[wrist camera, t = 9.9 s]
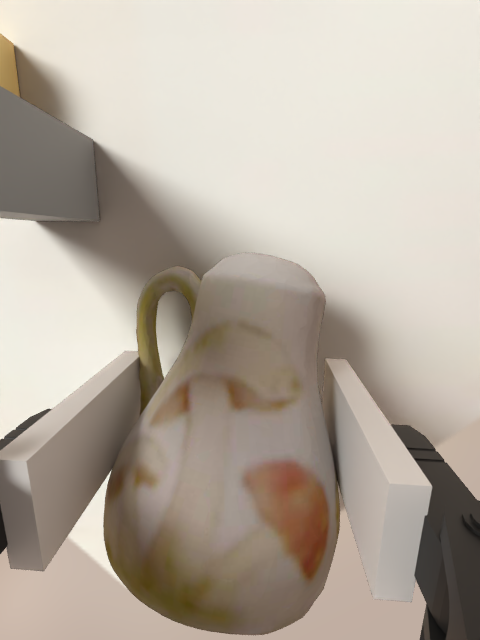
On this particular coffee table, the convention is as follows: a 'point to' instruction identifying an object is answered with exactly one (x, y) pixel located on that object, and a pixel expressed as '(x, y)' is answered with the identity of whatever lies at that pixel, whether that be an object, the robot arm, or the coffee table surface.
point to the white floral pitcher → (228, 454)
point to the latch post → (41, 158)
